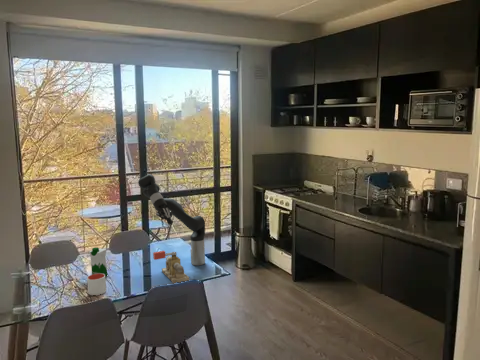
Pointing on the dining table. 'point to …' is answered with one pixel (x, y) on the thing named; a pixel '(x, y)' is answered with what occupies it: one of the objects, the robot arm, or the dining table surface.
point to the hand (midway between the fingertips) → (171, 223)
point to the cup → (96, 284)
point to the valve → (174, 270)
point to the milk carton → (98, 261)
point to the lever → (162, 254)
